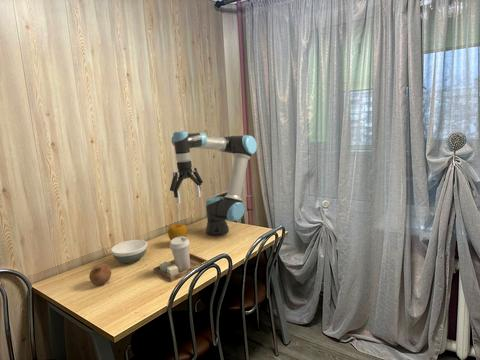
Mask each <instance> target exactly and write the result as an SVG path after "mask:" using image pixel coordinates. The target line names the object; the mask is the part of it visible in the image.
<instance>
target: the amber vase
mask: <svg viewBox="0 0 480 360" xmlns="http://www.w3.org/2000/svg"><path fill="white" fill-rule="evenodd" d="M167 235H168V238H169V240H170V241H171V240H172V239H174V238H176V237H186V238H188V237H187V235H188V229H187V225H186V224H183V223H175V224H171V225H170V226H169V227H168V230H167Z"/></svg>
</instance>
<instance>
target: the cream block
mask: <svg viewBox="0 0 480 360" xmlns="http://www.w3.org/2000/svg"><path fill="white" fill-rule="evenodd" d="M167 274H168V275H170V276H174V275H176V274H179V272H178V267H177V266H175V265H172V266H169V267H167Z"/></svg>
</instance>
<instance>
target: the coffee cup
mask: <svg viewBox="0 0 480 360" xmlns="http://www.w3.org/2000/svg"><path fill="white" fill-rule="evenodd" d="M169 248H170V249H171V252H172V256H173V260H175V263H176V266H177V267H178V271H185V270H187V269H189V268H190V256H189V253H190V241H189V238H188V237H176V238H174V239H172V240H170V242H169Z"/></svg>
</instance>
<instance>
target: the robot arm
mask: <svg viewBox="0 0 480 360" xmlns="http://www.w3.org/2000/svg"><path fill="white" fill-rule="evenodd" d="M171 144H172V146H173V147H174V152H175V160H176V167H177V172H175V171H173V172H172V180H171V184H170V187H169V191H170V192H173V195H174V196H173V197H174V198H175V202H176V203H175V204H181V198H180V197H181V195H180V191H179V189H180V186H181V185H182V183H183V181H184V180H186V179H190V180H192V181H193V183H194V184H195V185H194V186H195V195H196V198H201V196H202V195H201V189H202V188H201V185H202V184H203V183H204V181H203V179H202V178H201V176H200V173H198V169H197V167H193V165H192V156H191V149H202V150H217V152H221V153H228V154H232V155H233V157H234V159H233V164H232V168H231V172H230V178H229V183H228V188H227V193H226V195H224V196H215V197H211V198H207V199H206V201H205V208H206V210H205V211H206V218H207V222H206V227H205V234H206V235H207V236H210V237H211V236H212V237H219V236H223V235H225V234H226V235H227V234H228V233H229V232H230V228H229V225H228V222H227V221H231V222H232V221H233V222H237V221H239V220H240V219H242V218H243V216H244V214H245V210H246V209H245V205H244V204H243V199H242V198H241V197H242V194H243V193H242V191H243V186H244V182H245V179H246V178H245V176H246V173H247V166H248V161H249V160H250V159H251V158H252V155H254V154H255V153H256V151H257V149H258V146H257V145H258V144H257V141H256V139H255V138H254V136H252V135H247V134H243V135H230V136H219V137H215V136H214V137H213V136H207V134H206V133H205V132H196V133H194V132H193V133H192V132H191V133H189V132H188V131H187V130H180V131H174V132H173V134H172V137H171ZM226 220H227V221H226Z"/></svg>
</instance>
